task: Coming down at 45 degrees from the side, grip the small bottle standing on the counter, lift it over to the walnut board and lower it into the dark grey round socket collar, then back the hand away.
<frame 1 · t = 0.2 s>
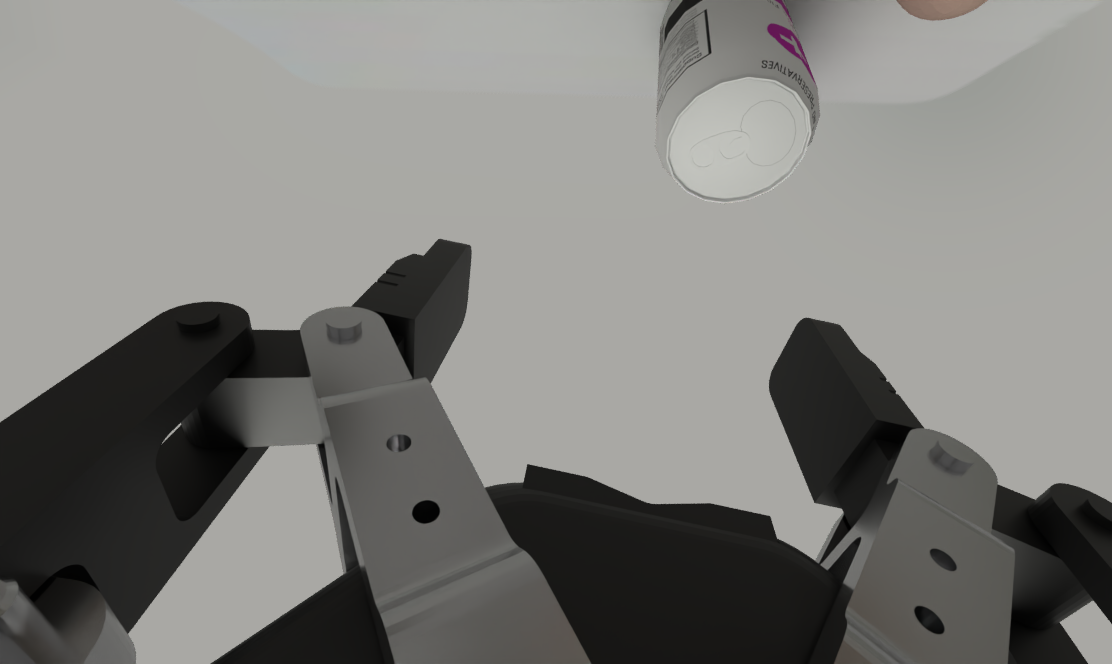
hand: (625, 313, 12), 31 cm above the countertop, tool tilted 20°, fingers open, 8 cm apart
supplement can: (718, 29, 34), on the countertop
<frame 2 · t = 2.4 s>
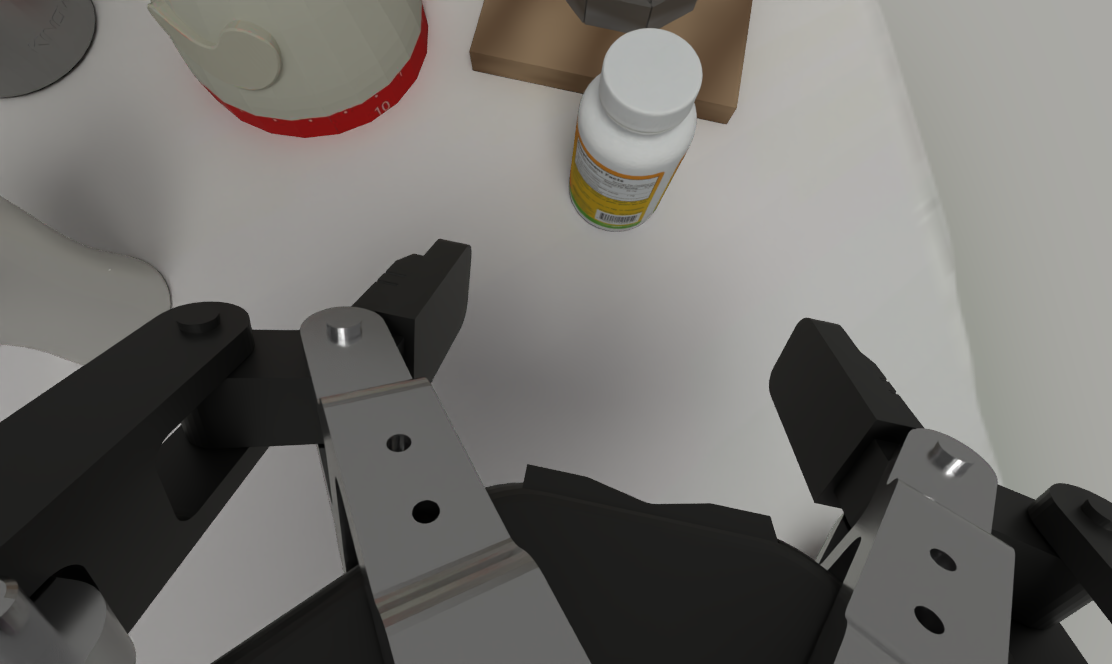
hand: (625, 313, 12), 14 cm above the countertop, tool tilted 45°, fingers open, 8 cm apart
kitchen timer: (316, 40, 30), on the countertop
supplement bottle: (613, 192, 28), on the countertop
beer glass: (116, 311, 26), on the countertop
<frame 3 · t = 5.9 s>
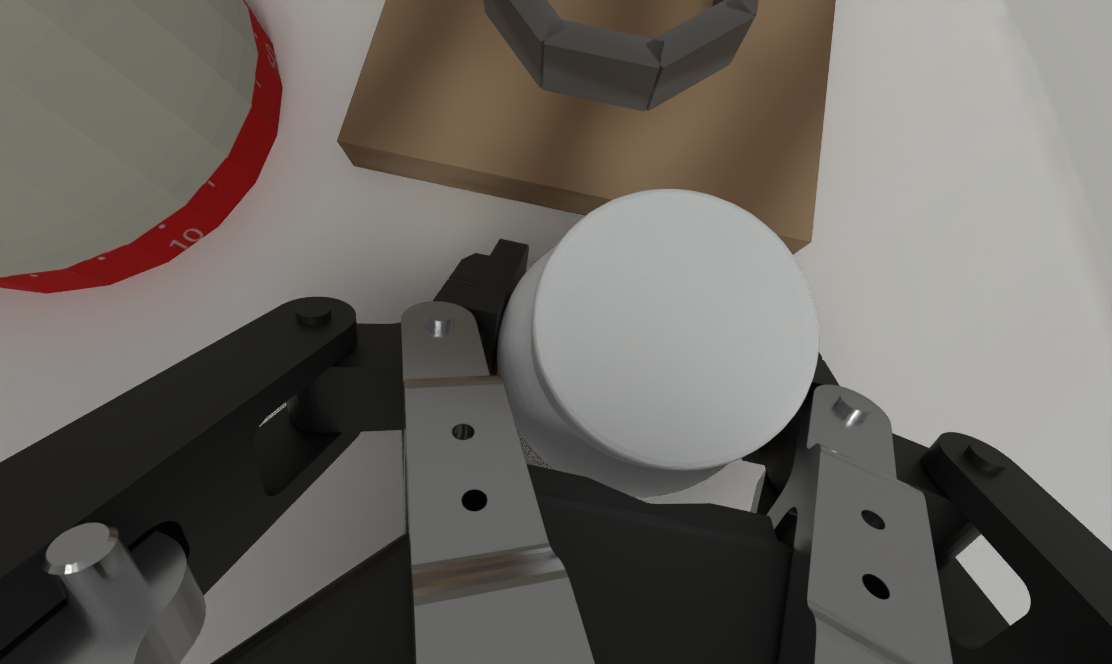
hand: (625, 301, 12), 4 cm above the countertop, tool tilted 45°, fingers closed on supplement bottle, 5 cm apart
socket board: (610, 29, 19), on the countertop
kitchen timer: (92, 114, 18), on the countertop
supplement bottle: (592, 387, 16), on the countertop, touching gripper
when the fingers open (8 cm above the countertop, at t = 10.6 s): supplement bottle drops 2 cm, resting on socket board.
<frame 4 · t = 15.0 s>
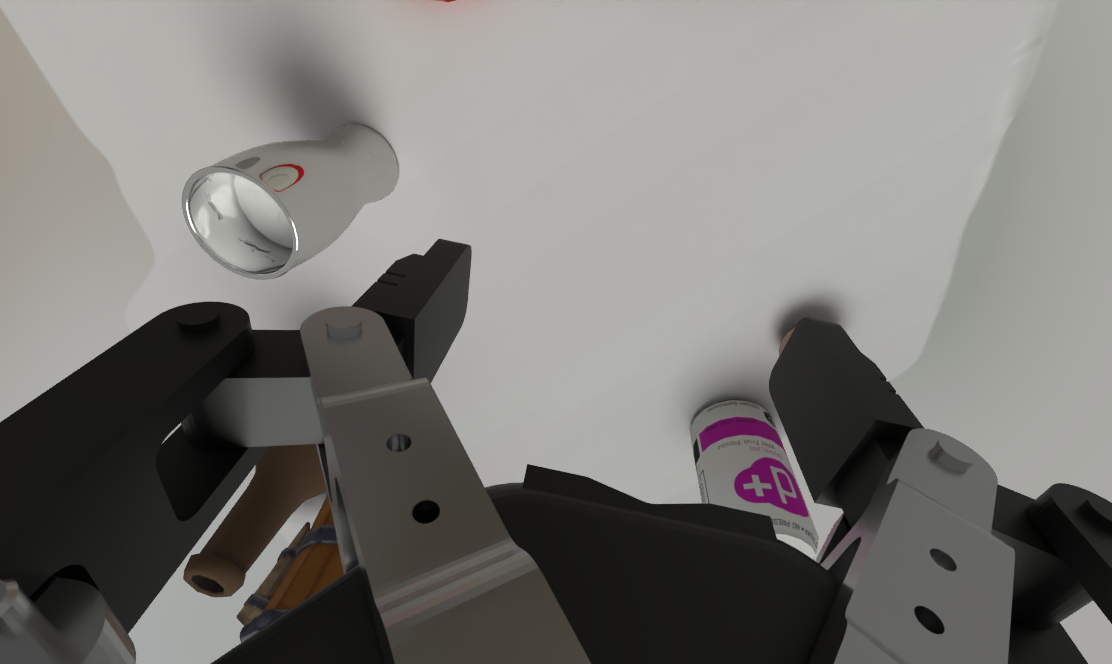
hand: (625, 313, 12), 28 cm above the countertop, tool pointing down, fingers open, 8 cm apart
mug: (371, 493, 63), on the countertop
beer glass: (364, 163, 39), on the countertop
beer bottle: (372, 363, 51), on the countertop
supplement can: (729, 424, 49), on the countertop
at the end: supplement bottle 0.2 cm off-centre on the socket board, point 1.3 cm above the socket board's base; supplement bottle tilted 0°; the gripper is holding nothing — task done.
